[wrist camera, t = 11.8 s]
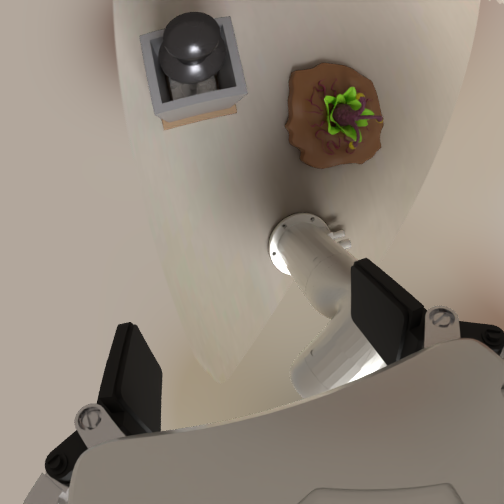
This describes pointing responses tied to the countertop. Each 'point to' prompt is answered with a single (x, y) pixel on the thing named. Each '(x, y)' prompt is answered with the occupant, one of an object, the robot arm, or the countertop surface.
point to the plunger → (192, 54)
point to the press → (198, 105)
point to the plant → (333, 116)
